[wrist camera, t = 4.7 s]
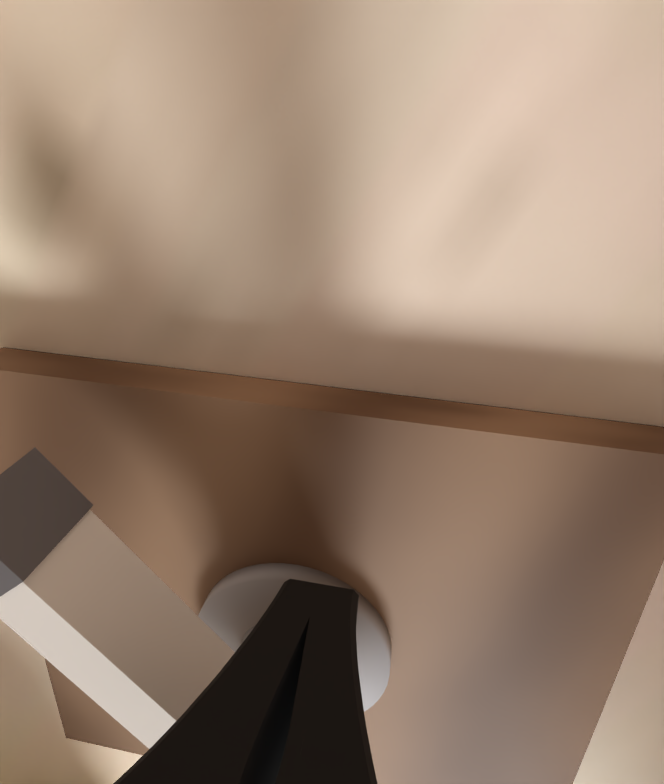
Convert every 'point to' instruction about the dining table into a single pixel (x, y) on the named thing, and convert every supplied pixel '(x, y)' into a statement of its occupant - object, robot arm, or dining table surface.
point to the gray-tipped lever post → (97, 605)
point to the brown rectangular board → (373, 543)
